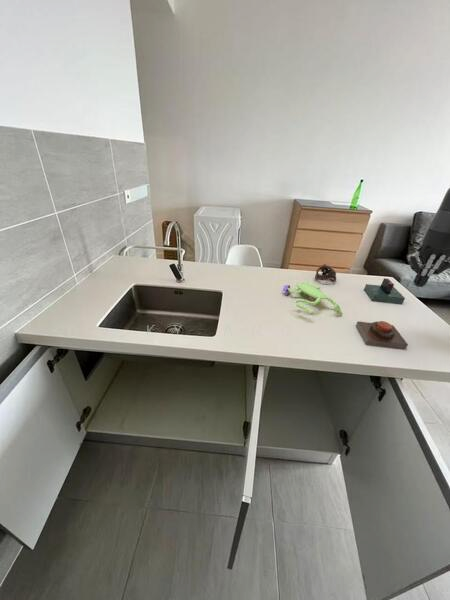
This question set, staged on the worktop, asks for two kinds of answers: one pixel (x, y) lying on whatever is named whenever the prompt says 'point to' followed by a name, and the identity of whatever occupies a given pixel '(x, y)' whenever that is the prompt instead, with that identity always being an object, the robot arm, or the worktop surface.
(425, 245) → the robot arm
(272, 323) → the worktop surface
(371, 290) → the panel
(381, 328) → the button
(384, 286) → the handle
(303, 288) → the figurine
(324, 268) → the dark brown dome
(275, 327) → the worktop surface
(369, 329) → the button block
